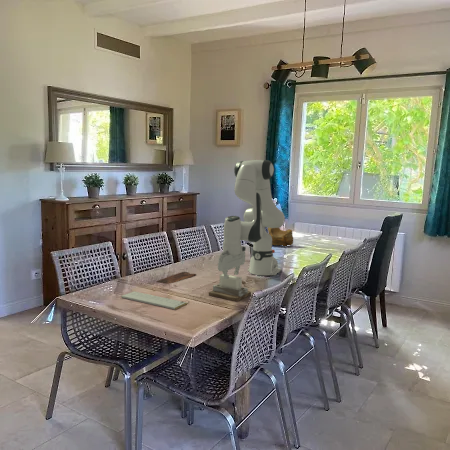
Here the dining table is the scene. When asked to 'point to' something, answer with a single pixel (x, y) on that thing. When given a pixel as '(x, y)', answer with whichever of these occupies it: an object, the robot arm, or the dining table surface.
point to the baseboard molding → (154, 300)
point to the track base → (229, 293)
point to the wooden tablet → (176, 277)
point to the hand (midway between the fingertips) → (231, 276)
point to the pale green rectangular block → (231, 282)
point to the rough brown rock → (281, 236)
